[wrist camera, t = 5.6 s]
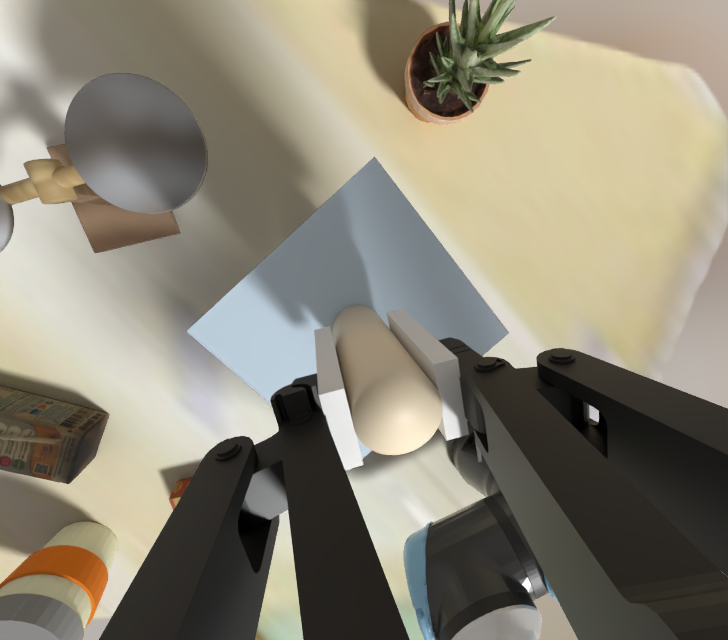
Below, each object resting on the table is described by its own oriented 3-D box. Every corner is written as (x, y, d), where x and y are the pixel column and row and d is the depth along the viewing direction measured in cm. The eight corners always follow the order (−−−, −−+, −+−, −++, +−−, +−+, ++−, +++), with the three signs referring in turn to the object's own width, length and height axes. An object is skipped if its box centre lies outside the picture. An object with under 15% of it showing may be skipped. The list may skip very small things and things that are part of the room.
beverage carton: (-48, 368, 45) (-105, 391, 39) (114, 410, 50) (86, 437, 43) (-58, 421, 46) (-116, 452, 40) (99, 457, 51) (70, 489, 45)
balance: (255, 215, 46) (227, 209, 30) (19, 271, 43) (-151, 299, 27) (223, 113, 42) (172, 45, 26) (-36, 168, 40) (-268, 131, 24)
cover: (426, 288, 35) (652, 409, 12) (331, 372, 36) (375, 635, 13) (343, 187, 31) (443, 87, 8) (240, 283, 32) (73, 431, 9)
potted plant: (435, 35, 43) (588, -189, 20) (476, 104, 46) (652, -21, 23) (374, 90, 44) (451, -66, 20) (418, 155, 47) (530, 84, 23)
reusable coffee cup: (67, 587, 56) (-17, 713, 41) (22, 529, 52) (-87, 645, 38) (145, 559, 56) (90, 673, 42) (106, 500, 53) (31, 602, 38)
